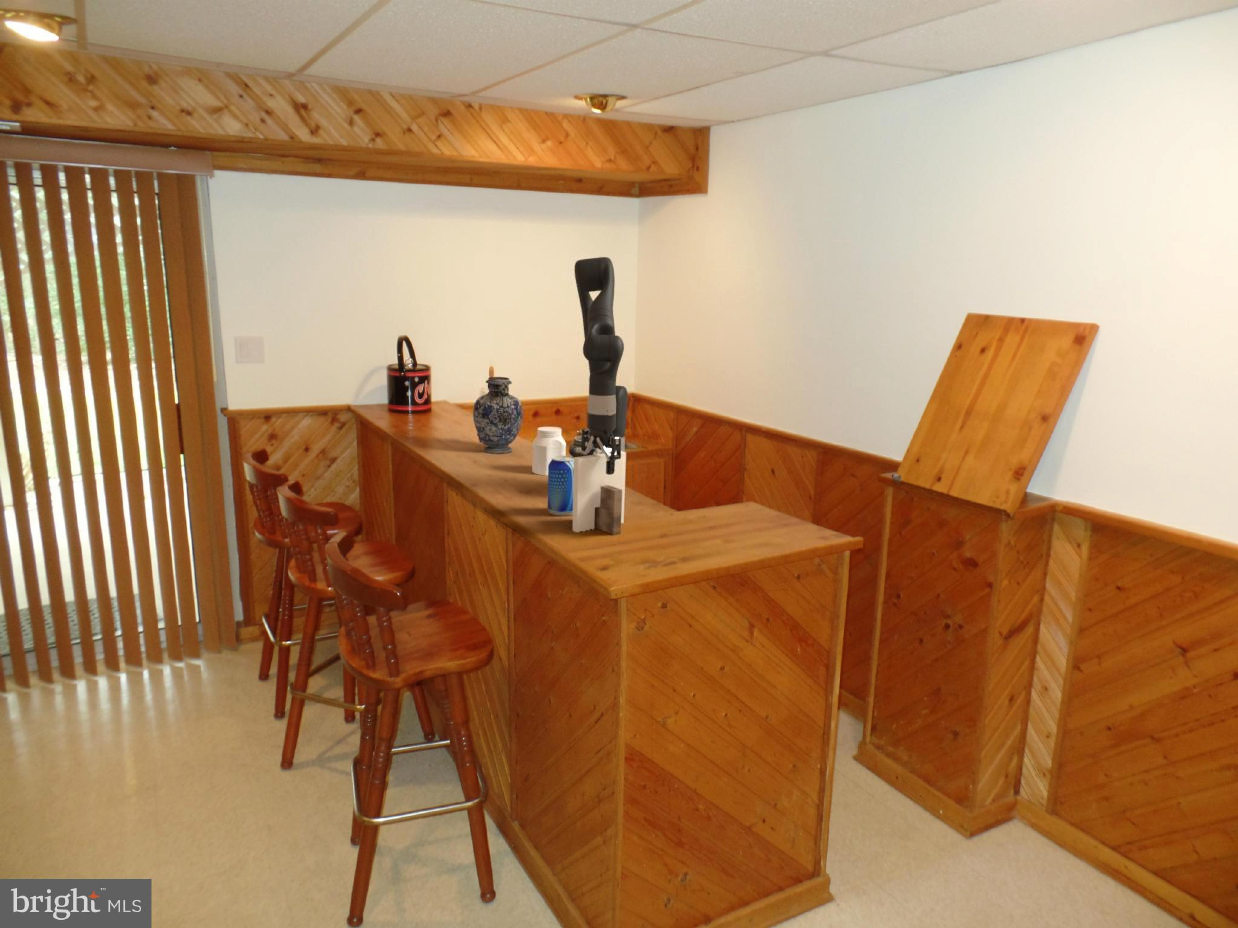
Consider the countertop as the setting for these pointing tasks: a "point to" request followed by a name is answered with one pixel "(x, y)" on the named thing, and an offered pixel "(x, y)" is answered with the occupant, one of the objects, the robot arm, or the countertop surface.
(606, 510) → the walnut notched block
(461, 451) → the countertop surface
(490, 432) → the decorative vase
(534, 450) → the jar
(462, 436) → the countertop surface
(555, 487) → the beer can
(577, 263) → the robot arm
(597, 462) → the cream plate
